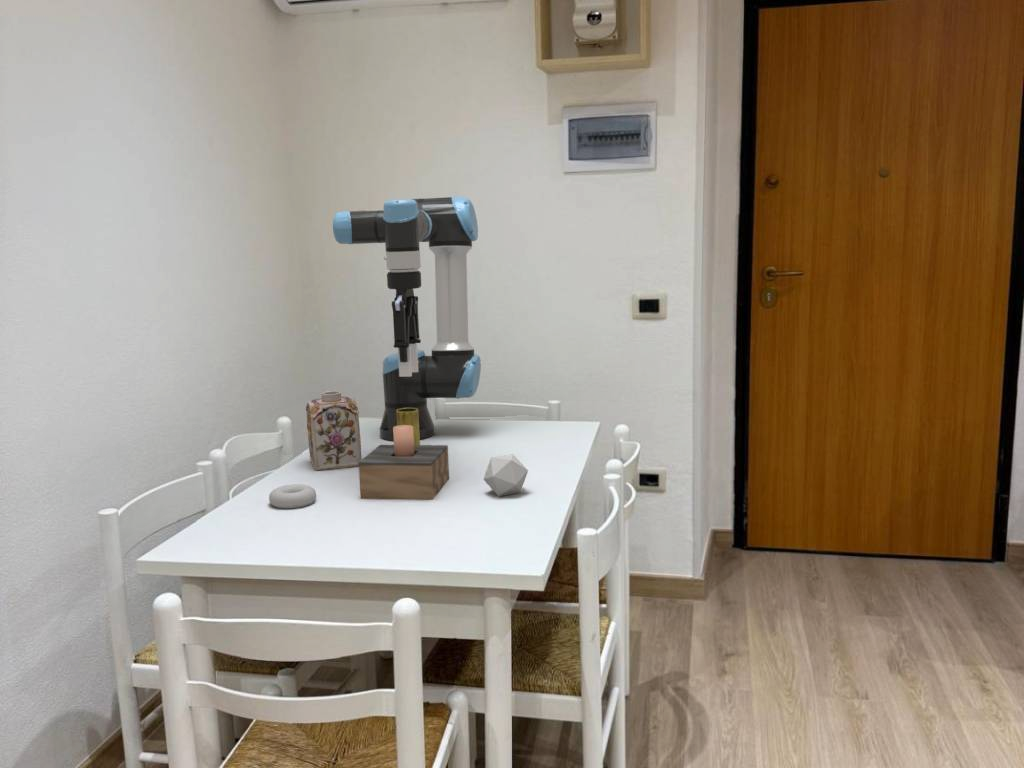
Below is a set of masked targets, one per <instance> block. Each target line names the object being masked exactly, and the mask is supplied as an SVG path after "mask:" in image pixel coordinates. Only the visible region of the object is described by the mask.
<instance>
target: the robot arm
mask: <svg viewBox="0 0 1024 768" xmlns="http://www.w3.org/2000/svg"><path fill="white" fill-rule="evenodd" d="M332 232H333V236H334V240H335V241H336V242H337V243H338V244H340V245H360V244H361V245H362V244H385V245H384V246H385V255H384V257H383V261H385V262H386V269H387V270H388V272H387V274H386V281H387V282H386V284H387V288H388V289H389V290H395V297H394V300H393V301H391V308H392V317H393V319H392V320H393V321H392V322H393V323H392V324H393V340H394V343H393V347H394V348H395V349H397V353H393V354H390V355H387V356H386V357H384V359H383V360H382V372H381V373H382V380H383V381H382V383H383V384H382V385H383V396H384V397H383V398H384V412H383V415H382V419H381V423H380V426H379V437H380V438H381V439H382V440H385V441H393V442H394V436H393V427H395V426H397V415H396V410H397V409H400V408H417V409H418V412H419V433H420V440H422V439H423V440H424V439H427V438H430V437H433V436H434V435H435V434H436V433H435V431H436V430H435V425H434V421H433V419H432V417H431V413H430V411H429V409H428V400H427V399H457V400H458V399H460V398H461V399H465V398H466V399H467V398H472V397H473V396H475V394H476V393H477V390H478V387H479V383H480V379H481V369H482V368H481V367H482V365H481V364H482V363H481V357H480V356H479V355H478V354H475V348H474V347H473V345H471V344H470V342H469V317H468V316H469V312H468V310H469V309H468V303H469V302H468V265H467V262H468V261H467V260H468V259H467V258H468V257H467V254H468V253H469V252H470V251H471V250H472V248H473V242H475V241H477V240H478V237H479V227H478V220H477V215H476V210H475V207H474V205H473V202H472V201H471V200H470V199H469V198H467V197H459V196H457V197H456V196H450V197H449V196H447V197H432V198H412V199H394V200H392V199H391V200H386V201H385V202H384V203H383V207H382V208H377V209H376V208H375V209H364V210H352V211H351V210H346V211H339V212H337V213H335V214H334V216H333V220H332ZM420 243H428V249H429V250H430V251H431V252H432V253H433V254H434V270H435V271H434V275H435V277H434V278H435V279H434V280H435V312H436V313H435V314H436V315H435V316H436V317H435V318H436V321H435V322H436V344H435V345H434V346H433V347H432V348H431V355H426V353H425V351H424V350H423V349H418V344H421V342H422V341H421V340H422V339H420V327H419V326H420V324H419V306H418V305H419V297H418V296H417V295H415V293H414V289H415V290H416V289H419V288H421V287H422V272H421V271H420V270H419V269H421V267H422V265H421V264H422V263H421V252H420V251H421V250H420V249H421V248H420Z"/></svg>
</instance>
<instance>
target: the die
mask: <svg viewBox="0 0 1024 768" xmlns="http://www.w3.org/2000/svg"><path fill="white" fill-rule="evenodd" d="M487 465H488V466H487V468H486V471H485V473H484V476H483V481H484V482H485V483H486V485H488V486H489V487H490V489H491V490H492V491H493V492H494V493H495V494H496V495H497V497H502V496H508V495H513V494H519V492H520V493H521V491H522V489H523V487H524V484H525V481H526V478H527V475H528V471H529V469H528V468H527V467H526V466H525V465H524V464H523V463H522V462H521V461H520V460H519V459H518V457H516V455H514V454H513V453H512V454H511V453H510V454H504V455H498V456H491V457H490V460H489V462H488V464H487Z"/></svg>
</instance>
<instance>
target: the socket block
mask: <svg viewBox="0 0 1024 768" xmlns="http://www.w3.org/2000/svg"><path fill="white" fill-rule="evenodd" d="M414 454H415V455H414V456H395V454H394V444H379V445H378V446H377V447H376V448H374V449H373V450H372V451H371V452H370V453H368V454H367V455H366V456H364V457H363V458H361V461H360V462H358V463H359V466H358V476H359V477H358V478H359V491H360V499H379V500H380V499H385V500H386V499H387V500H389V499H391V500H434V498H435V497H436V496H437V495H438V494H439V492H440V491H441V490H442V489H443V487H444V486H445V485H446V484H447V482H448V481H449V480H450V464H449V445H448V444H434V445H432V444H420V445H414Z"/></svg>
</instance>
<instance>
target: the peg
mask: <svg viewBox="0 0 1024 768" xmlns="http://www.w3.org/2000/svg"><path fill="white" fill-rule="evenodd" d="M393 436H394V441H393V445H394V454H395V456H414V455H415V454H414V435H413V426H411V425H399V426H395V427H393Z"/></svg>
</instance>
